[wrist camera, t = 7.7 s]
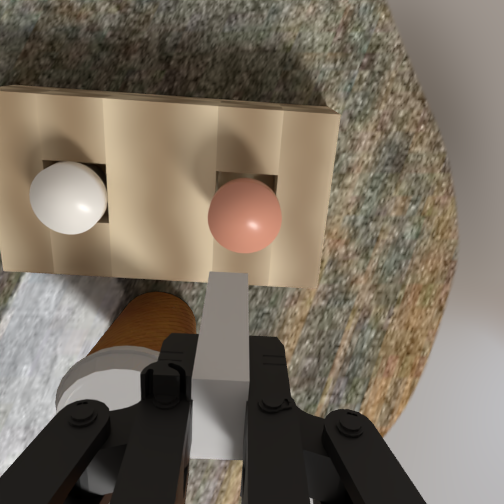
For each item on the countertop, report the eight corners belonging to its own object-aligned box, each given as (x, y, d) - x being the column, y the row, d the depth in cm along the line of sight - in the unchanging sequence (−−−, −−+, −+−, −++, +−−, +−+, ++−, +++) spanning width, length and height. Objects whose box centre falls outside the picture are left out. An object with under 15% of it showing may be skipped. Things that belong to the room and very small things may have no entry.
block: (34, 244, 37) (3, 270, 33) (14, 84, 33) (-24, 89, 28) (308, 260, 38) (317, 288, 33) (327, 106, 33) (340, 114, 29)
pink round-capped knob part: (212, 224, 33) (206, 251, 28) (214, 162, 31) (208, 180, 27) (274, 228, 33) (278, 255, 29) (279, 166, 31) (285, 185, 27)
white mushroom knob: (62, 208, 34) (33, 232, 29) (56, 148, 32) (25, 162, 28) (123, 212, 34) (104, 236, 30) (120, 152, 32) (100, 167, 28)
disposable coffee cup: (107, 264, 38) (49, 350, 27) (223, 284, 39) (213, 375, 28) (99, 360, 42) (45, 471, 30) (205, 376, 42) (190, 490, 31)
